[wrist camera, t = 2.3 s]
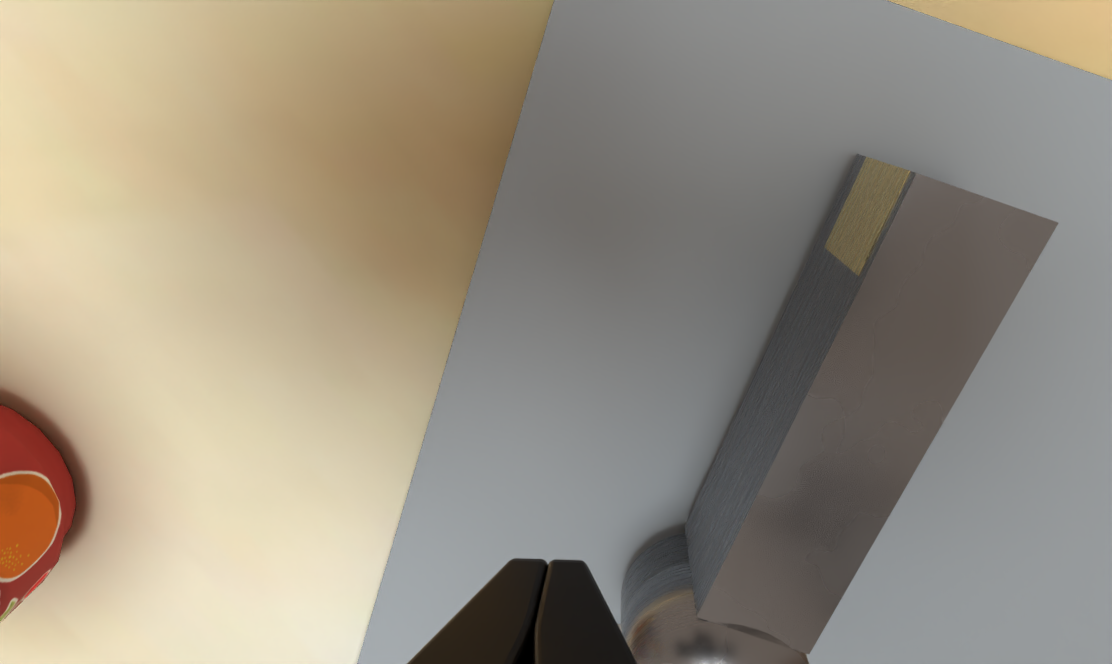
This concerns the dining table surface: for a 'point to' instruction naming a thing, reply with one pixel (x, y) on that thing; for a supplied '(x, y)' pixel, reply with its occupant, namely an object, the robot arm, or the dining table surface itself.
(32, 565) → the smoothie
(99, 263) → the dining table surface
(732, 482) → the swing bar
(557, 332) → the lock board
